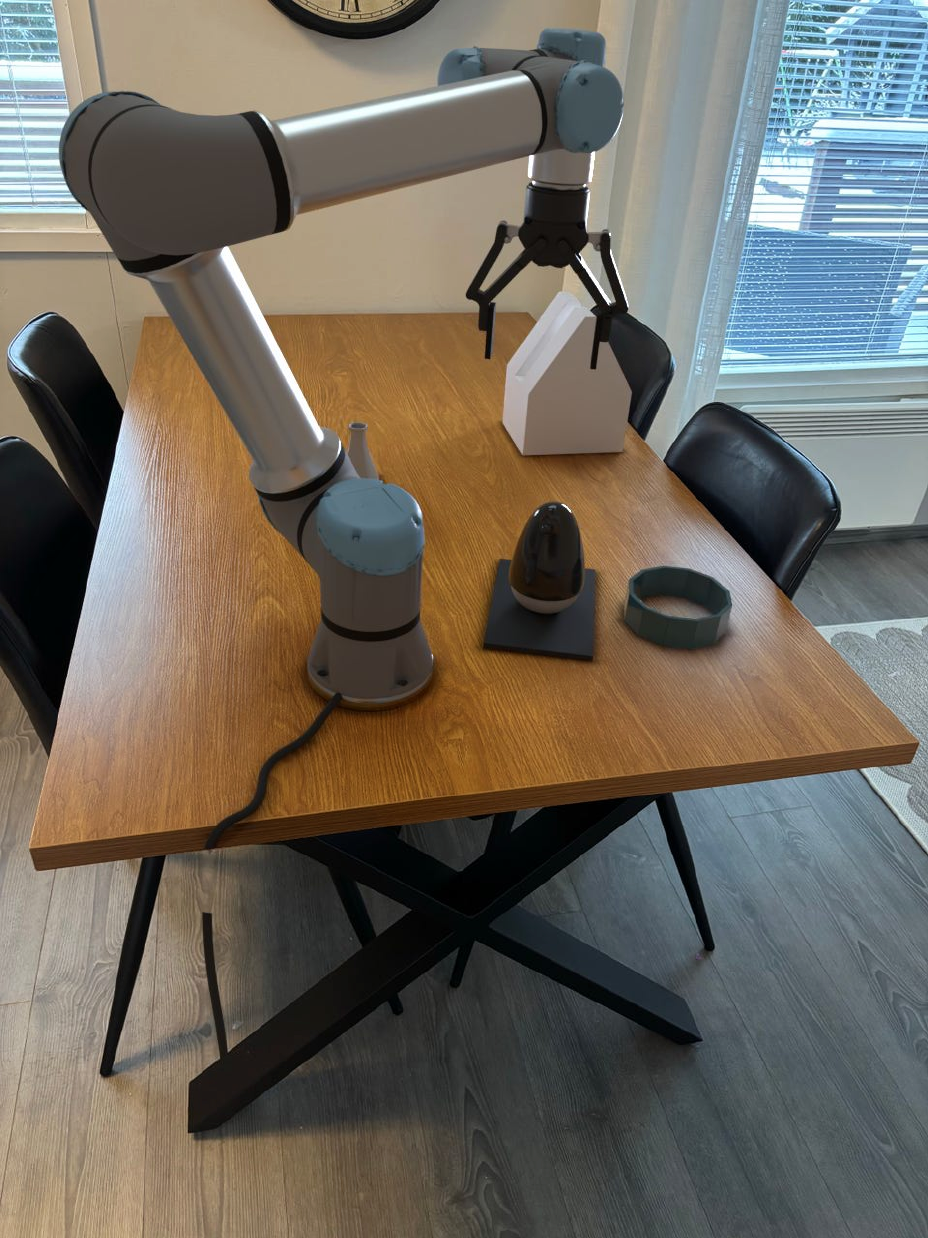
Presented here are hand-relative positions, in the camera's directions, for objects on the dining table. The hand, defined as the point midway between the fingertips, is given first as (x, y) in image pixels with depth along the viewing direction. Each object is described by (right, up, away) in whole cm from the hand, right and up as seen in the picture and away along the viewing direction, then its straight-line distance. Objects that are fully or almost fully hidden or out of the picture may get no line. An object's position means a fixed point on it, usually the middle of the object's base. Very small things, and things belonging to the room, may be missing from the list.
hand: (540, 361), depth 125 cm
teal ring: (+19, -34, +7) cm, 39 cm away
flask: (-28, -10, +37) cm, 48 cm away
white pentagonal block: (+8, +1, +58) cm, 59 cm away
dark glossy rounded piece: (+1, -31, +7) cm, 32 cm away
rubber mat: (+1, -32, +8) cm, 33 cm away
